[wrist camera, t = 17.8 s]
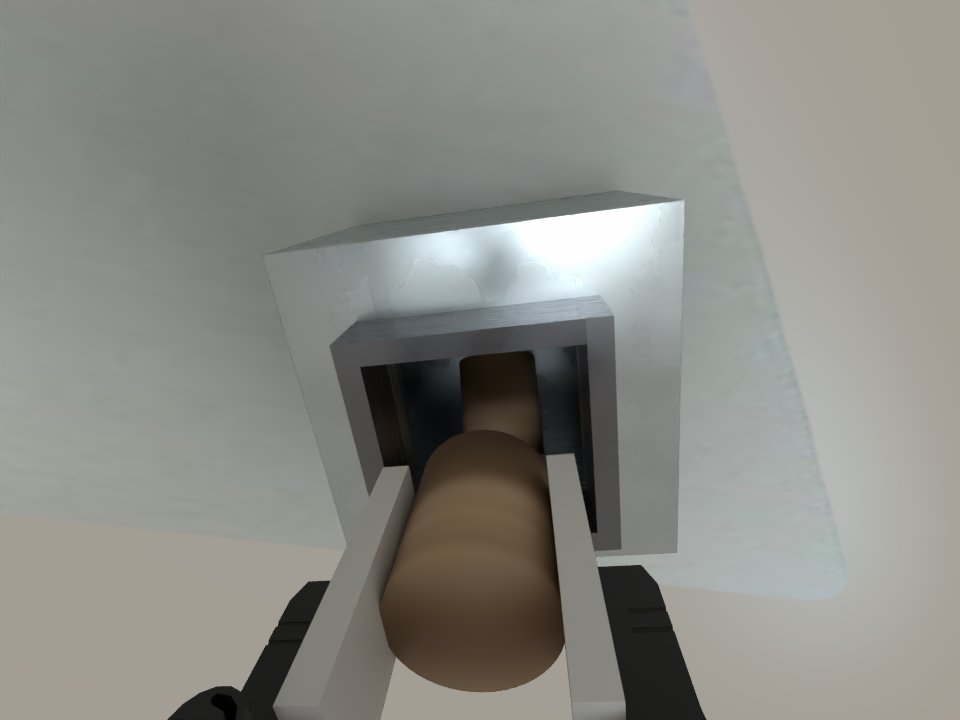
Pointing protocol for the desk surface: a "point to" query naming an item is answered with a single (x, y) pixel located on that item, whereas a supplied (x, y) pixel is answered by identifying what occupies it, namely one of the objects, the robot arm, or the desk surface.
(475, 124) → the desk surface
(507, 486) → the pellet
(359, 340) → the grey block with socket
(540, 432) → the pellet
